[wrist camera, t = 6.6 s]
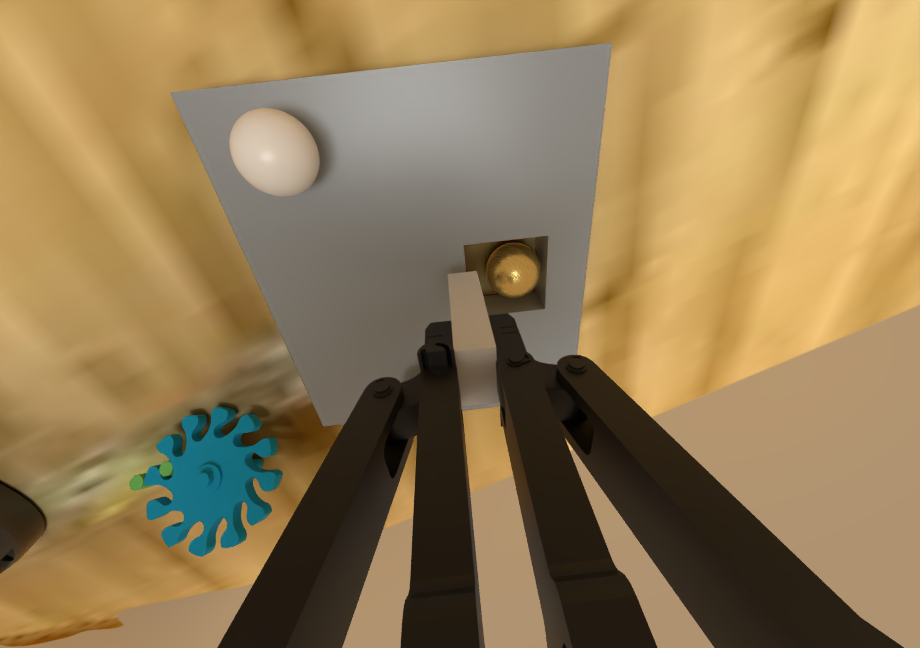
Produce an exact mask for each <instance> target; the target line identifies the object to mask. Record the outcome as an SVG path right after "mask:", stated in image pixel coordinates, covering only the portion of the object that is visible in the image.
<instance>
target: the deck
mask: <svg viewBox="0 0 920 648" xmlns="http://www.w3.org/2000/svg"><path fill="white" fill-rule="evenodd" d="M611 48H612V43H606V44H597V45H588V46H579V47H570V48H562V49H553V50H544V51H535V52H526V53H517V54H508V55H499V56H491V57H482V58H473V59H464V60H455V61H446V62H437V63H429V64H420V65H411V66H402V67H393V68H384V69H375V70H366V71H358V72H349V73H340V74H331V75H322V76H313V77H304V78H296V79H287V80H278V81H269V82H260V83H251V84H242V85H233V86H225V87H216V88H207V89H198V90H189V91H180V92H171V95H172V98H173V100H174V102H175V104H176V106H177V108H178V111H179V113H180V115H181V117H182V119H183V122H184V124H185V126H186V128H187V130H188V132H189V135H190V137H191V139H192V141H193V143H194V146H195V148H196V150H197V152H198V154H199V156H200V159H201V161H202V163H203V165H204V167H205V170H206V172H207V174H208V176H209V178H210V180H211V183H212V185H213V187H214V189H215V191H216V194H217V196H218V198H219V200H220V202H221V204H222V207H223V209H224V211H225V213H226V215H227V218H228V220H229V222H230V224H231V226H232V228H233V231H234V233H235V235H236V237H237V239H238V242H239V244H240V246H241V248H242V250H243V252H244V255H245V257H246V259H247V261H248V263H249V266H250V268H251V270H252V272H253V274H254V276H255V279H256V281H257V283H258V285H259V287H260V290H261V292H262V294H263V296H264V298H265V300H266V303H267V305H268V307H269V309H270V311H271V314H272V316H273V318H274V320H275V322H276V324H277V327H278V329H279V331H280V333H281V335H282V338H283V340H284V342H285V344H286V346H287V348H288V351H289V353H290V355H291V357H292V359H293V362H294V364H295V366H296V368H297V370H298V372H299V375H300V377H301V379H302V381H303V383H304V386H305V388H306V390H307V392H308V394H309V396H310V399H311V401H312V403H313V405H314V407H315V410H316V412H317V414H318V416H319V418H320V420H321V423H322V425H323V427H324V426H333V425H341V424H345V423H346V421H347V419H348V418H349V416H350V414H351V412H352V411H353V409H354V407H355V405H356V404H357V402H358V400H359V398H360V396H361V395H362V393H363V391H364V389H365V388H366V387H367V386H368V384H369V383H371V382H372V381H374V380H376V379H379V378H382V377H393V378H396V379H397V380H399V381H400V383H402V382H404V381H407V380H410V379H412V378H414V377H415V376H417V375H418V374H419V373H420V372H421V371H420V366H419V362H418V357H417V352H418V349H419V348H420V347H421V346H422V345H424V344H425V329H426V328H427V326H428V325H429V324H430V323H433V322H442V321H451V310H450V298H449V285H448V274H453V273H462V272H466V265H465V255H464V245H470V244H479V243H488V242H496V241H505V240H514V239H523V238H532V237H536V254H537V256H538V258H539V260H540V263H541V276H540V280H539V282H538V284H537V285H536V287H535V290H532V291H531V292H530V293H528V294H527V295H525V296H522V297H518V298H507V297H504V296H501V295H499V294H496V295H487V296H483V297H484V301H485V305H486V309H487V313H488V315H497V314H505V313H508V314H509V315H511V316H512V317H513V318H514V319H515V321H516V324H517V327H518V329H519V333H520V334H521V337H522V340H523V342H524V345H525V348H526V350H527V352H528V353H530V354H531V355H532V356H533V358H534V360H536V361H539V362H542V363H547V364H557V362H558V361H559V359H560V358H562V357H564V356H567V355H577V349H578V340H579V331H580V322H581V313H582V304H583V295H584V287H585V278H586V269H587V260H588V251H589V242H590V234H591V225H592V216H593V207H594V198H595V189H596V181H597V172H598V163H599V154H600V145H601V136H602V127H603V119H604V110H605V101H606V92H607V83H608V74H609V66H610V57H611ZM258 108H273V109H277V110H281V111H283V112H286V113H288V114H290V115H291V116H293V117H295V118H296V119H297V120H299V121H300V122H301V123H302V124H303V125H304V126H305V127H306V128H307V129H308V131H309V132H310V133H311V135H312V137H313V138H314V141H315V143H316V145H317V148H318V152H319V158H320V165H319V171H318V174H317V177H316V179H315V181H314V182H313V183H312V185H311V186H310V187H309V188H308V189H306V190H305V191H303V192H301V193H299V194H297V195H293V196H283V197H282V196H274V195H271V194H268V193H265V192H263V191H260V190H259V189H257V188H255V187H254V186H253V185H251V184H250V183H249V182H248V181H247V180H246V179H245V178H244V177H243V176H242V175H241V174H240V172H239V171H238V169H237V168H236V166H235V164H234V162H233V159H232V156H231V152H230V145H229V140H230V133H231V130H232V128H233V126H234V124H235V122H236V121H237V120H238V118H240V117H241V116H242V115H243V114H245V113H246V112H248V111H250V110H253V109H258ZM498 397H499V396H498ZM498 406H500V401H499V402H497V403H489V404H480V405H471V406H462V411H464V410H472V409H481V408H490V407H498Z"/></svg>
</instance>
